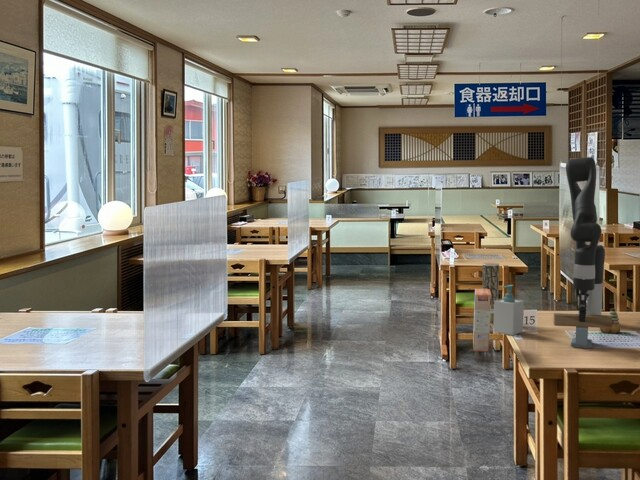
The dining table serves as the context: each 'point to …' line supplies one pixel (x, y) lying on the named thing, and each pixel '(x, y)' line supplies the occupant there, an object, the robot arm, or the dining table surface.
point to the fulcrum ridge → (581, 338)
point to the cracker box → (482, 320)
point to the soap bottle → (508, 314)
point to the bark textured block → (491, 283)
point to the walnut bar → (590, 321)
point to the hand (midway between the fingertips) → (582, 319)
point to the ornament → (613, 323)
